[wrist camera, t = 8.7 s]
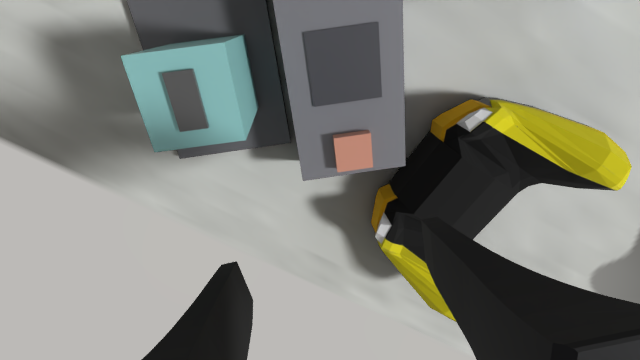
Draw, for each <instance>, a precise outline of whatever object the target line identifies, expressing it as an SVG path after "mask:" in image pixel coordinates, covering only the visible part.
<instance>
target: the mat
mask: <svg viewBox="0 0 640 360" xmlns="http://www.w3.org/2000/svg"><path fill="white" fill-rule="evenodd" d="M127 3H128V6H129V9H130V12H131V15H132V18H133V21H134V24H135V27H136V30H137V33H138V36H139V38H140V41H141V44H142V47H143V50H147V49H151V48H156V47H160V46H164V45H168V44H174V43H181V42H189V41H197V40H204V39H212V38H220V37H228V36H235V35H243V34H244V35H245V40H246V45H247V51H248V56H249V61H250V66H251V71H252V76H253V81H254V86H255V91H256V96H257V101H258V106H259V107H258V110H257V112H256V115H255V118H254V120H253V123H252V125H251V128H250V131H249V133H248V136H247V139H246V140H244V141H236V142H229V143H221V144H214V145H206V146H199V147H191V148H184V149H177V152H178V155H179V158H180V159H181V158H188V157H195V156H202V155H209V154H216V153H223V152H230V151H237V150H243V149H250V148H257V147H264V146H271V145H278V144H285V143H291V140H290V134H289V128H288V123H287V117H286V111H285V106H284V100H283V94H282V88H281V83H280V77H279V71H278V66H277V60H276V54H275V48H274V43H273V37H272V31H271V26H270V20H269V14H268V9H267V3H266V0H127Z"/></svg>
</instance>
